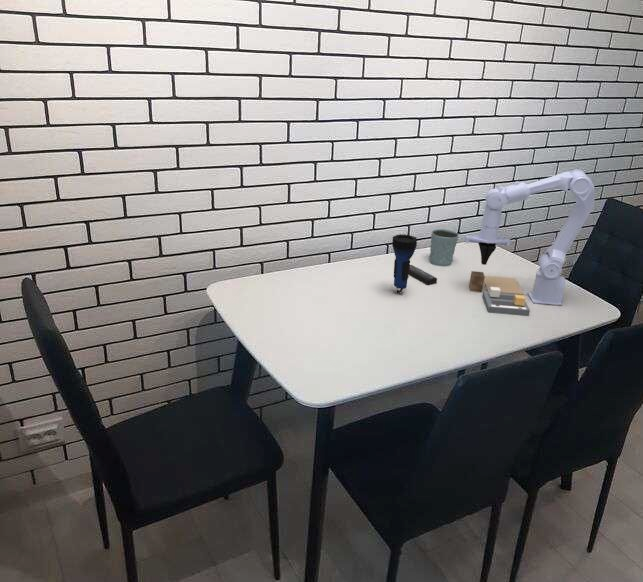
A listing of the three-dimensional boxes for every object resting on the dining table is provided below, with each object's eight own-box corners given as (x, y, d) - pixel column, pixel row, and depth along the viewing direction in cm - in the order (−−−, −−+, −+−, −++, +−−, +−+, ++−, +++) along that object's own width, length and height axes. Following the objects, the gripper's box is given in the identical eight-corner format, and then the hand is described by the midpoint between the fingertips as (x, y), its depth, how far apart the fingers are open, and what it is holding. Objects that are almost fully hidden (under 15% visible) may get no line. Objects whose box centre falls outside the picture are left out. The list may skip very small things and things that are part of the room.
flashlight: (385, 296, 194) (391, 240, 185) (388, 287, 201) (394, 232, 192) (409, 299, 192) (416, 243, 184) (411, 290, 199) (418, 235, 191)
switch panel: (520, 300, 196) (522, 294, 195) (528, 315, 185) (530, 309, 184) (482, 296, 197) (483, 291, 196) (487, 312, 186) (488, 306, 185)
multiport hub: (427, 286, 204) (428, 280, 203) (401, 272, 215) (402, 266, 214) (436, 284, 206) (437, 278, 205) (410, 270, 217) (411, 264, 216)
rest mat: (514, 279, 212) (515, 278, 212) (522, 295, 199) (523, 293, 199) (481, 277, 213) (482, 275, 213) (487, 292, 200) (488, 291, 200)
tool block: (480, 287, 204) (483, 272, 202) (481, 292, 200) (484, 276, 198) (468, 286, 204) (471, 271, 202) (470, 291, 201) (473, 275, 198)
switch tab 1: (497, 294, 193) (499, 287, 192) (499, 297, 191) (500, 290, 190) (488, 293, 194) (490, 286, 193) (490, 296, 191) (491, 289, 190)
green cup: (423, 258, 227) (426, 229, 222) (445, 256, 231) (449, 228, 226) (436, 268, 219) (440, 238, 214) (459, 265, 222) (463, 236, 217)
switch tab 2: (522, 302, 188) (523, 295, 187) (524, 305, 186) (525, 298, 185) (513, 301, 189) (514, 294, 188) (514, 305, 186) (516, 298, 185)
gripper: (510, 223, 194) (502, 260, 200) (466, 220, 195) (460, 257, 201) (514, 230, 187) (506, 268, 193) (469, 226, 188) (463, 265, 194)
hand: (483, 263), depth 196 cm, fingers closed
